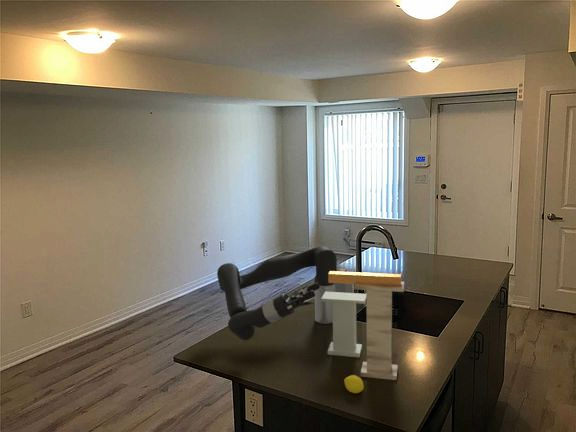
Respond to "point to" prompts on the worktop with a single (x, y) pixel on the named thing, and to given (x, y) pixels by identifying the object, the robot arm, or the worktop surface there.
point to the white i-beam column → (344, 323)
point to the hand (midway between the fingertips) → (316, 288)
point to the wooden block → (364, 278)
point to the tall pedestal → (379, 331)
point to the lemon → (354, 384)
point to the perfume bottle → (343, 285)
